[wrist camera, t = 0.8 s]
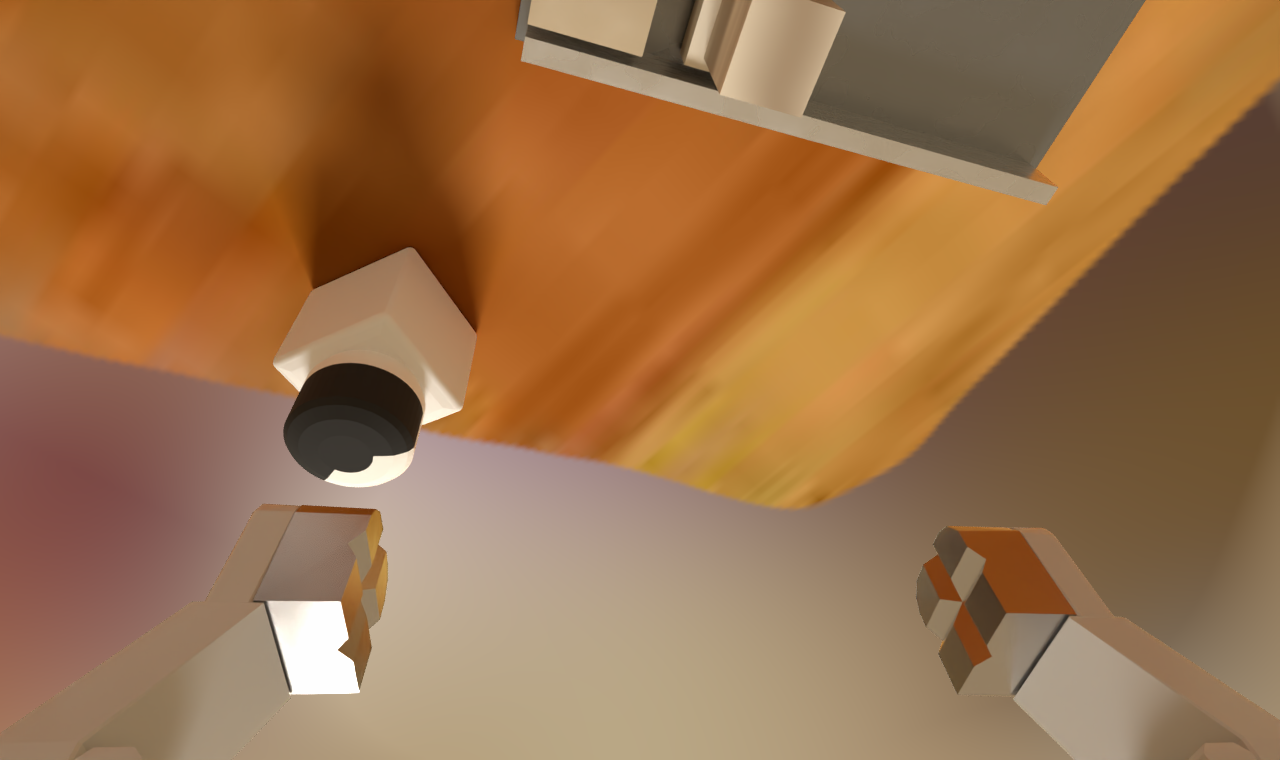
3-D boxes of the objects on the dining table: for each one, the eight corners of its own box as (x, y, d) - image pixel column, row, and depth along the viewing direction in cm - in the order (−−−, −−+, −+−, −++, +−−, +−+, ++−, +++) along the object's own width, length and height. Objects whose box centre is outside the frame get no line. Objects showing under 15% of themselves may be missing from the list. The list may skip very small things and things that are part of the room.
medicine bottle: (309, 289, 42) (230, 430, 33) (413, 242, 40) (361, 377, 31) (384, 374, 46) (333, 520, 37) (479, 335, 45) (452, 477, 35)
